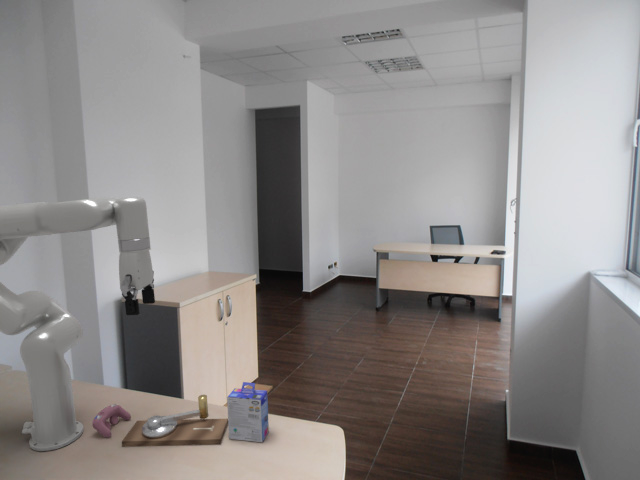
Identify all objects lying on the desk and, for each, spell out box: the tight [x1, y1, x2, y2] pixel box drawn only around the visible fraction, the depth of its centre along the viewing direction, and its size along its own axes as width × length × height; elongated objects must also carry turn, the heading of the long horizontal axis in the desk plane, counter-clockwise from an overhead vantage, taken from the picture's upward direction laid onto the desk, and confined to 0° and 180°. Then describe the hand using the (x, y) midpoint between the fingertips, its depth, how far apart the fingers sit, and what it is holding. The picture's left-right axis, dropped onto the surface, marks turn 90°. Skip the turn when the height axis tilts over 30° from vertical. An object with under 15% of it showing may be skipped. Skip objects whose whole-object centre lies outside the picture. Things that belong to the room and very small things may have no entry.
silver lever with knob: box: [142, 394, 209, 438], centre depth 116 cm, size 18×9×7 cm, turn 110°
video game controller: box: [91, 403, 132, 438], centre depth 118 cm, size 10×5×7 cm, turn 168°
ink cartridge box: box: [226, 381, 270, 443], centre depth 113 cm, size 10×6×14 cm, turn 78°
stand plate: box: [121, 418, 229, 448], centre depth 115 cm, size 26×10×2 cm, turn 90°
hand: (141, 308), depth 111 cm, fingers open, 9 cm apart
